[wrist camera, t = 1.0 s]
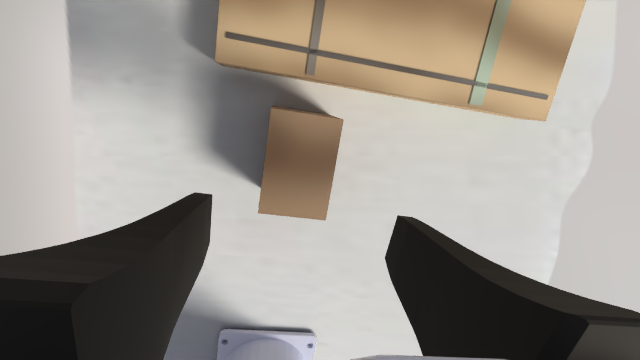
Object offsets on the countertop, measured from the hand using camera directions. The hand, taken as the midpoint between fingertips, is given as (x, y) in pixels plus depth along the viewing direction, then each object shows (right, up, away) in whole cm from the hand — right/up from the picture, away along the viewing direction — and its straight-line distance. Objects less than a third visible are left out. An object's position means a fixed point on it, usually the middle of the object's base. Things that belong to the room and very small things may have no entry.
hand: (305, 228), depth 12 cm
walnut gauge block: (-1, +4, +10) cm, 11 cm away
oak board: (+6, +13, +9) cm, 16 cm away
